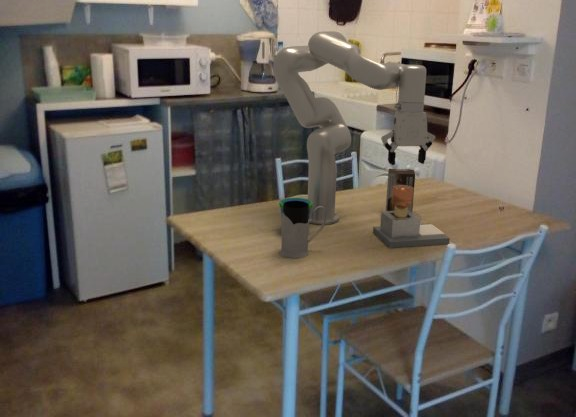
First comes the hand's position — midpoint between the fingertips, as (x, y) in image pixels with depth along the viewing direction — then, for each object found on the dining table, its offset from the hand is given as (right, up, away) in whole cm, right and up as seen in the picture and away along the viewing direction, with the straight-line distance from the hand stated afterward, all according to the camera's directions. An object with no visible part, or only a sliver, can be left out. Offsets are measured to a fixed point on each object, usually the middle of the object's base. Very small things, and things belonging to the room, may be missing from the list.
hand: (406, 163), depth 190 cm
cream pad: (+8, -21, +9) cm, 25 cm away
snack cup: (-34, -22, +11) cm, 42 cm away
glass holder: (-32, -27, -5) cm, 42 cm away
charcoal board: (+3, -23, +9) cm, 25 cm away
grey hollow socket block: (-1, -22, +7) cm, 23 cm away
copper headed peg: (-1, -22, +7) cm, 23 cm away
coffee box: (+3, -16, +31) cm, 36 cm away
